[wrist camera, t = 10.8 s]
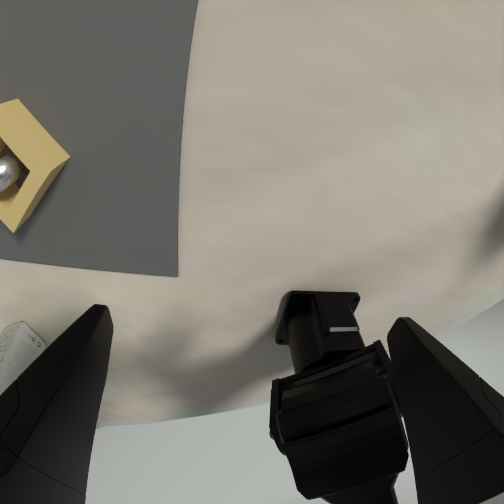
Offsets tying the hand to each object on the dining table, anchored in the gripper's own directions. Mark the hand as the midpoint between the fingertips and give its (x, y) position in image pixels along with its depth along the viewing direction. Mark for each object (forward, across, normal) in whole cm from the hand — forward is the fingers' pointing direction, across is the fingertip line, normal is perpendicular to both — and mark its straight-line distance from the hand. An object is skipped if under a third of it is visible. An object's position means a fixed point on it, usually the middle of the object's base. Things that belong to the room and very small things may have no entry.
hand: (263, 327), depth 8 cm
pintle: (+12, +16, -1) cm, 20 cm away
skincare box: (+12, +24, +20) cm, 34 cm away
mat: (+12, +16, -4) cm, 21 cm away
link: (+12, +20, -5) cm, 23 cm away
